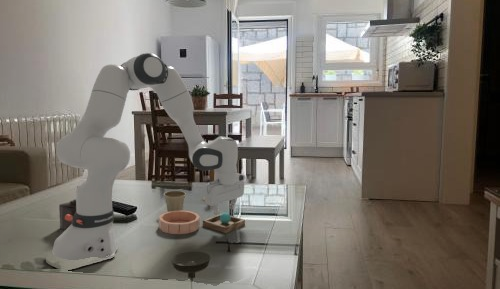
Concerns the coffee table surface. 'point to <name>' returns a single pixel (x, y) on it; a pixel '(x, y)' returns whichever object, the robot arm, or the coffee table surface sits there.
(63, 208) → the dark grey box
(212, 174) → the hand bell
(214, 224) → the tray
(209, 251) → the coffee table surface
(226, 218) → the ball
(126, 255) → the coffee table surface
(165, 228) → the bowl
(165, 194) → the flower pot
